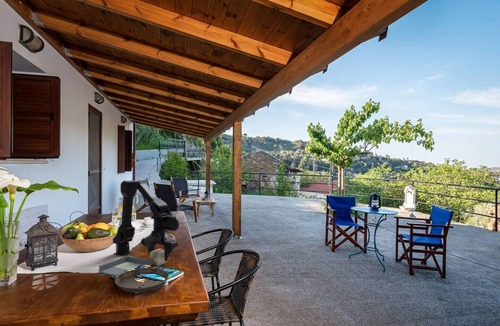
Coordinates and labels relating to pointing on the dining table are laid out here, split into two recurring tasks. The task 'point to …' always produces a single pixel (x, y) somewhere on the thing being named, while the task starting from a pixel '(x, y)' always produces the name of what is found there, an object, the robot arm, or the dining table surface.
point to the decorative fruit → (168, 237)
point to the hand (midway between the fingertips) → (158, 259)
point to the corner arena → (122, 265)
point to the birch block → (157, 257)
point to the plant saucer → (130, 284)
